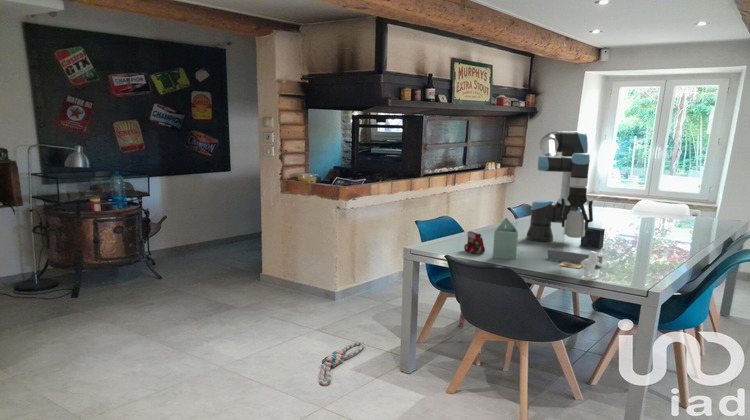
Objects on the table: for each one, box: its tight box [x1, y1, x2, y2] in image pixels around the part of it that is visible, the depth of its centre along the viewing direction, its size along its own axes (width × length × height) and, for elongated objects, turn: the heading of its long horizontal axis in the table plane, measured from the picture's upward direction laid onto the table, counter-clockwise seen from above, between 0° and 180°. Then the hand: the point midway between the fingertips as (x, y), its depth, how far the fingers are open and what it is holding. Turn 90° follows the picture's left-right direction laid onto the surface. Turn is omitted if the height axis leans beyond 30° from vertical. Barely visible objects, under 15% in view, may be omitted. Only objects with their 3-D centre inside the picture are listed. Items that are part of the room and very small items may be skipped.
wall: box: [546, 247, 604, 268], centre depth 238 cm, size 24×4×5 cm, turn 59°
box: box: [580, 226, 606, 250], centre depth 273 cm, size 11×7×10 cm, turn 47°
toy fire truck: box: [463, 230, 486, 255], centre depth 253 cm, size 7×12×10 cm, turn 24°
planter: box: [492, 217, 519, 260], centre depth 244 cm, size 16×8×20 cm, turn 126°
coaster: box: [559, 261, 583, 270], centre depth 232 cm, size 9×9×1 cm
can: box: [565, 210, 585, 239], centre depth 229 cm, size 8×8×12 cm
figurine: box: [580, 250, 606, 281], centre depth 210 cm, size 9×7×12 cm
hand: (574, 235), depth 230 cm, fingers closed on can, 7 cm apart
